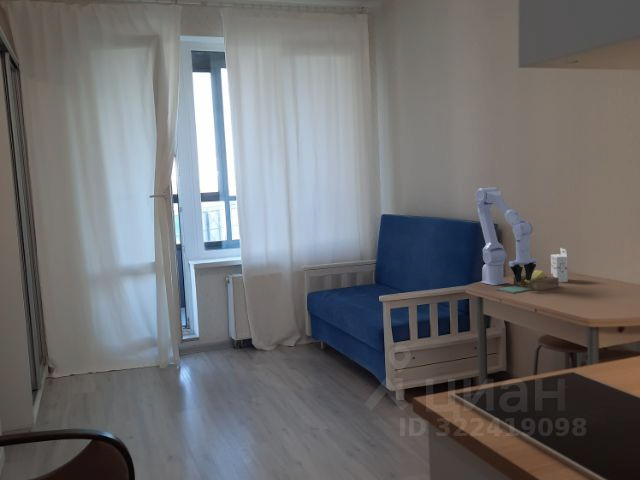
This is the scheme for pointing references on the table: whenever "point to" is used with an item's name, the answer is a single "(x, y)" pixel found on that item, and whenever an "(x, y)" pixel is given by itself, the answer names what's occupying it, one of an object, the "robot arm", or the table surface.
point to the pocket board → (538, 283)
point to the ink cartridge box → (559, 266)
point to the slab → (535, 276)
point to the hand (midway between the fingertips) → (523, 281)
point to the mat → (513, 289)
